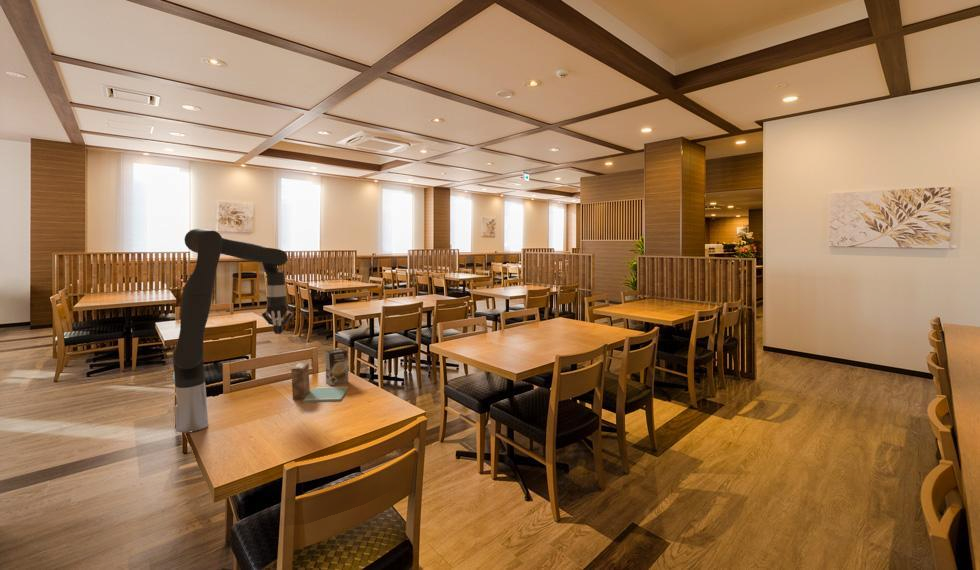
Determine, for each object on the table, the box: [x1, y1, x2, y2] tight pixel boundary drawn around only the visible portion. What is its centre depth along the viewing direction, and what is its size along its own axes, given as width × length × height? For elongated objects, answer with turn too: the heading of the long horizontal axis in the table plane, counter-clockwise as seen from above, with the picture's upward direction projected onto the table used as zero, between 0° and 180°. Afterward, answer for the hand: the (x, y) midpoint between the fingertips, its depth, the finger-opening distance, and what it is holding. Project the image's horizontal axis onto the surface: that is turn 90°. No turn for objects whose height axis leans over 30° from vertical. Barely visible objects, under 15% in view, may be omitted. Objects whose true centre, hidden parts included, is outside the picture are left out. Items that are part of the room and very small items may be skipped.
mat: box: [302, 386, 349, 403], centre depth 198 cm, size 16×16×1 cm
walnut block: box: [290, 362, 311, 400], centre depth 196 cm, size 5×8×14 cm, turn 7°
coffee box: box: [325, 348, 349, 387], centre depth 214 cm, size 9×6×16 cm
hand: (278, 333), depth 193 cm, fingers closed
